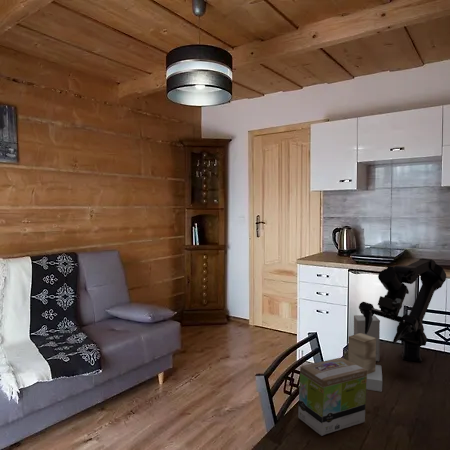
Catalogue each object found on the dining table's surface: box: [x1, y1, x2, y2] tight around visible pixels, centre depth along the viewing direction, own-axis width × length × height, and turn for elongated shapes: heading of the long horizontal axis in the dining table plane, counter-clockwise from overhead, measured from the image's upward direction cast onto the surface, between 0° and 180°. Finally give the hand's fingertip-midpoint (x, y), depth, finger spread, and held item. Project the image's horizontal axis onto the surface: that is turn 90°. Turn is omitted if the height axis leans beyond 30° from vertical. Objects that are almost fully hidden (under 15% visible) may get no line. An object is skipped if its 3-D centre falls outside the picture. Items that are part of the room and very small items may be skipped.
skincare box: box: [353, 314, 381, 362], centre depth 149 cm, size 8×7×16 cm
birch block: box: [347, 333, 377, 374], centre depth 130 cm, size 6×6×11 cm
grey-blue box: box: [366, 364, 383, 392], centre depth 131 cm, size 12×12×4 cm
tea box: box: [297, 356, 367, 437], centre depth 107 cm, size 15×10×15 cm
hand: (379, 338), depth 133 cm, fingers open, 9 cm apart
